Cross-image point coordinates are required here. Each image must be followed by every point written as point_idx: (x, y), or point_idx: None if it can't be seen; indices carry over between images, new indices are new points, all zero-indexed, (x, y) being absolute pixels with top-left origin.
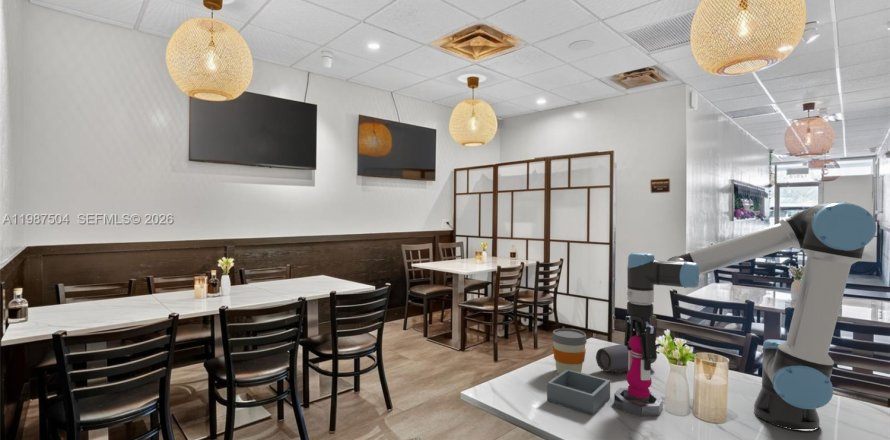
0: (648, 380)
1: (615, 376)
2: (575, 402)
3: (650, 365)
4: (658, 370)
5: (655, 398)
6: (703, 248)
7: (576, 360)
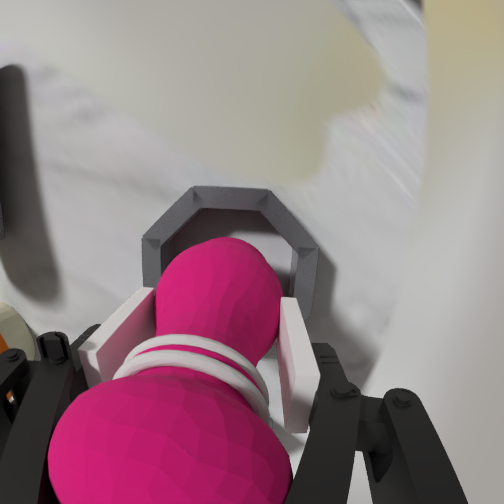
0: (280, 296)
1: (18, 208)
2: None
3: (340, 367)
4: (16, 49)
5: (247, 209)
6: None
7: None
